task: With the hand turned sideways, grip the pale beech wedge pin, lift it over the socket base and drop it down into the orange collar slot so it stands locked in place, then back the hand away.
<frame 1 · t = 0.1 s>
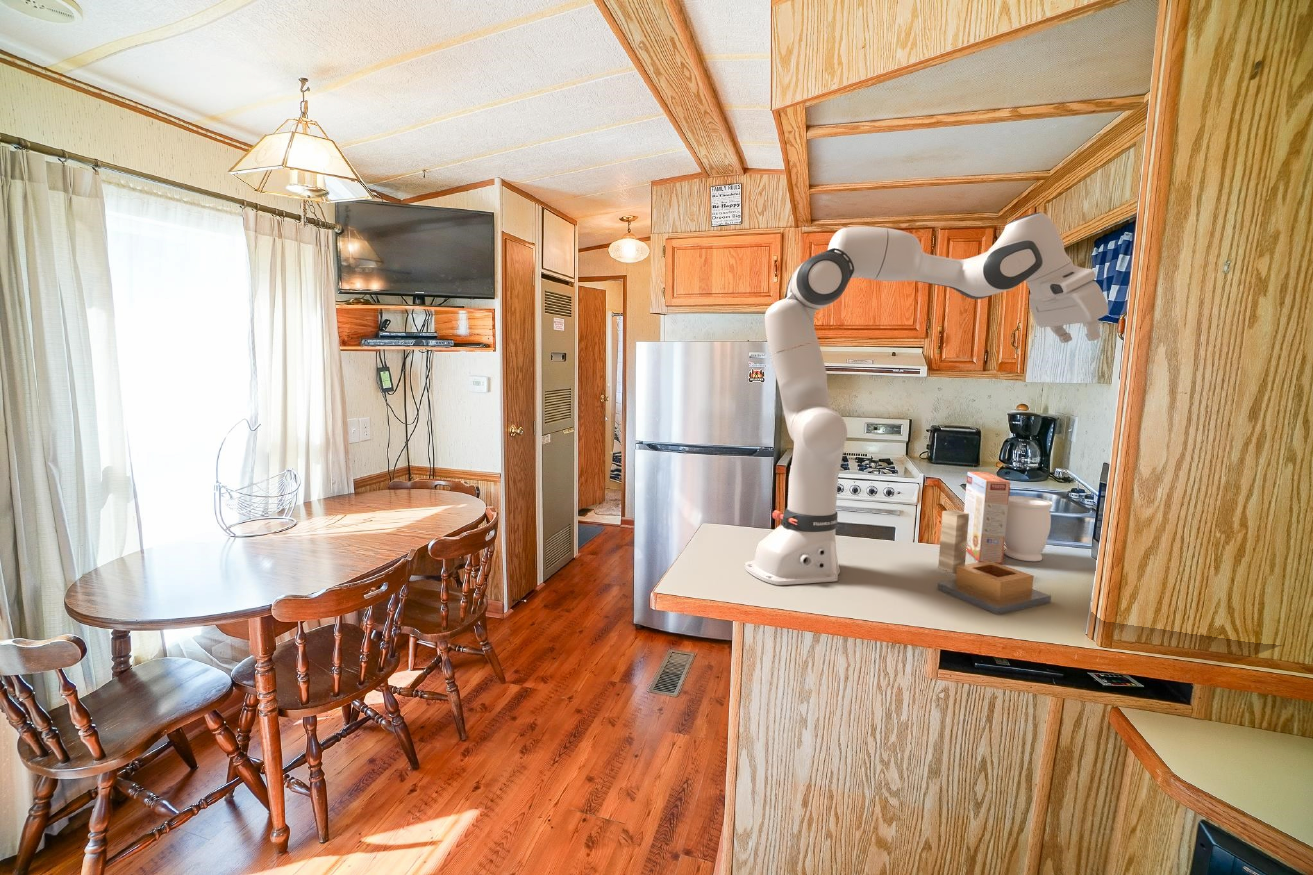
hand: (1080, 340, 126), 54 cm above the counter, tool tilted 30°, fingers open, 8 cm apart
wedge pin: (951, 569, 138), on the counter
cracker box: (981, 555, 149), on the counter
jar: (1022, 557, 148), on the counter
socket base: (992, 595, 122), on the counter
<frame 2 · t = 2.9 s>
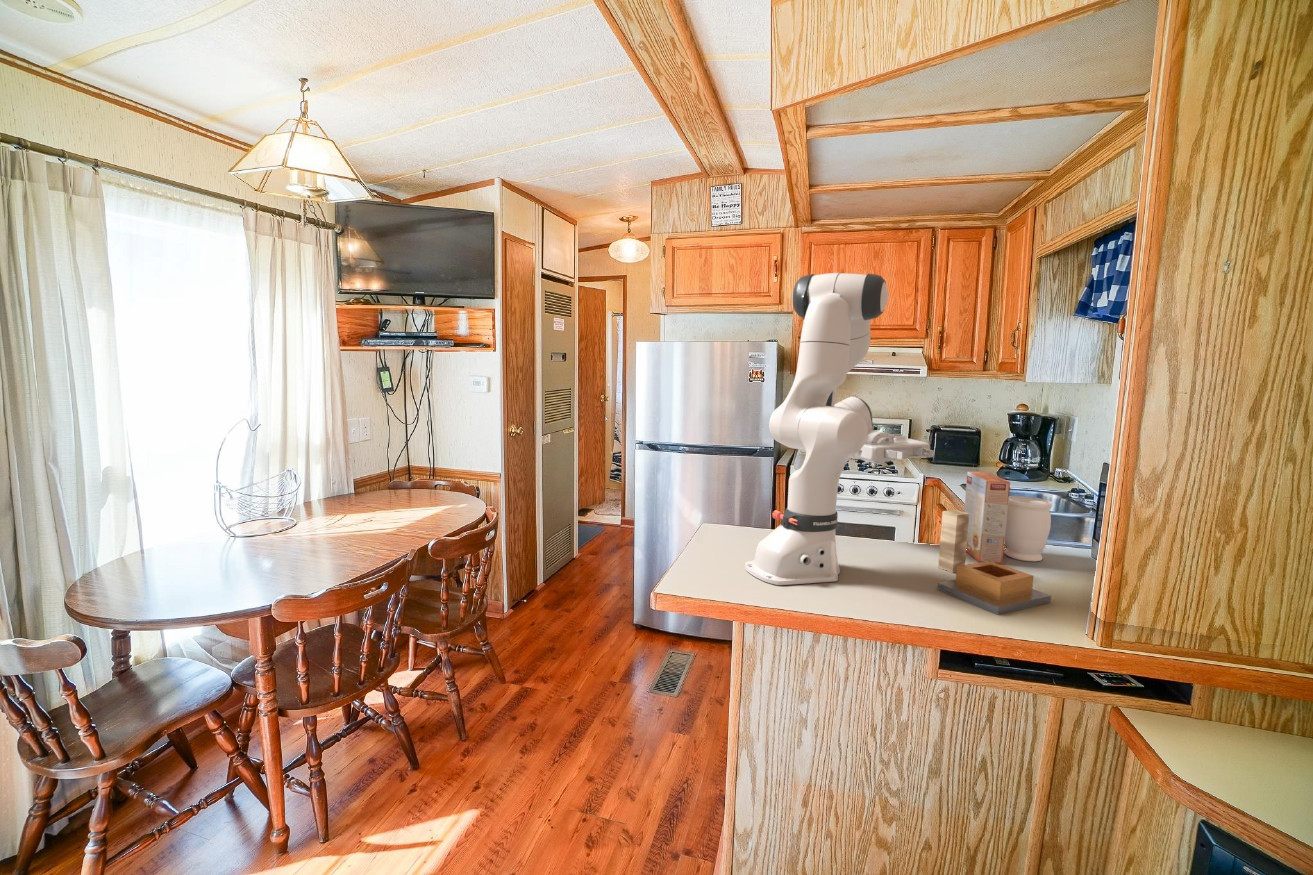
hand: (918, 454, 146), 26 cm above the counter, tool horizontal, fingers open, 8 cm apart
nothing on the counter moved.
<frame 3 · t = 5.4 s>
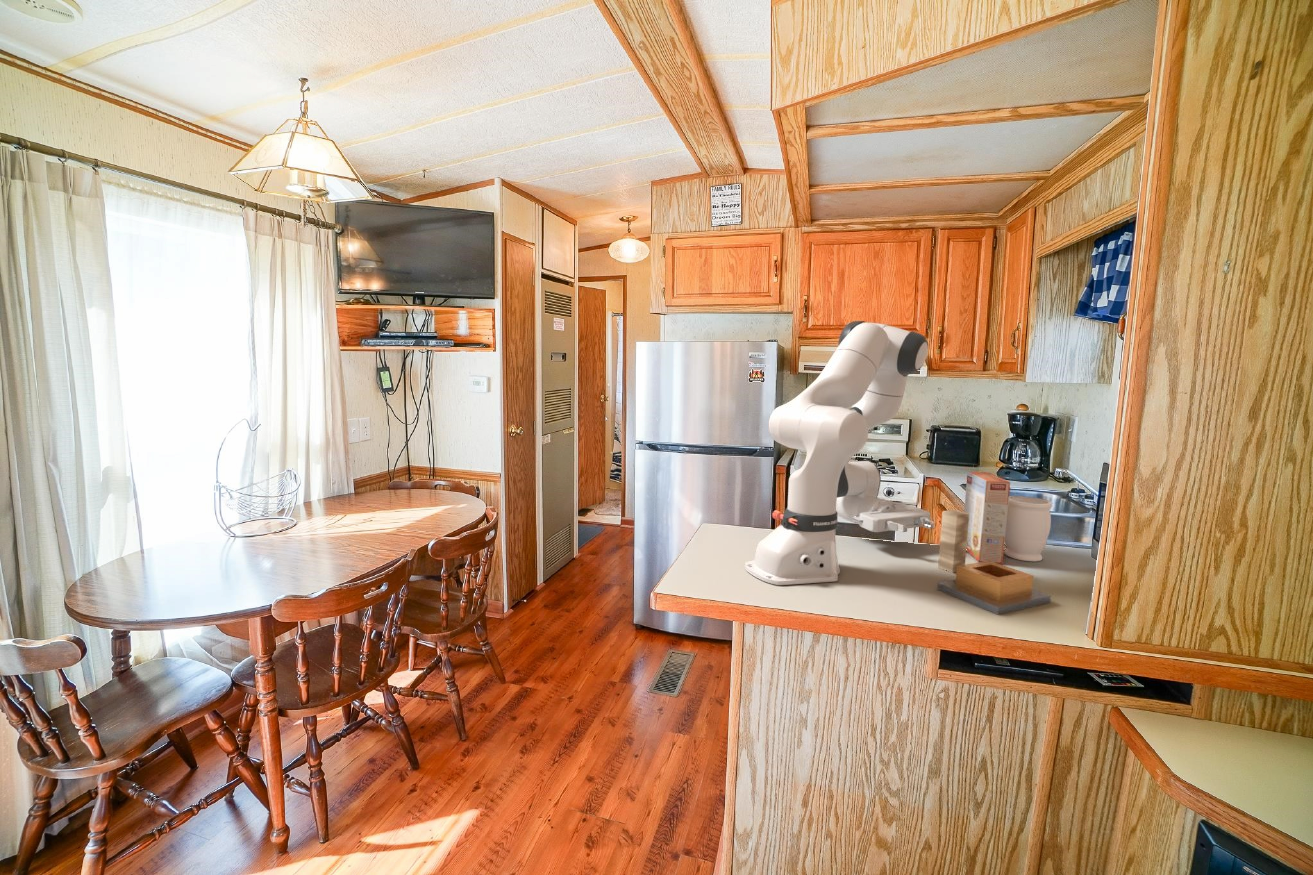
hand: (919, 527, 146), 8 cm above the counter, tool horizontal, fingers open, 8 cm apart
nothing on the counter moved.
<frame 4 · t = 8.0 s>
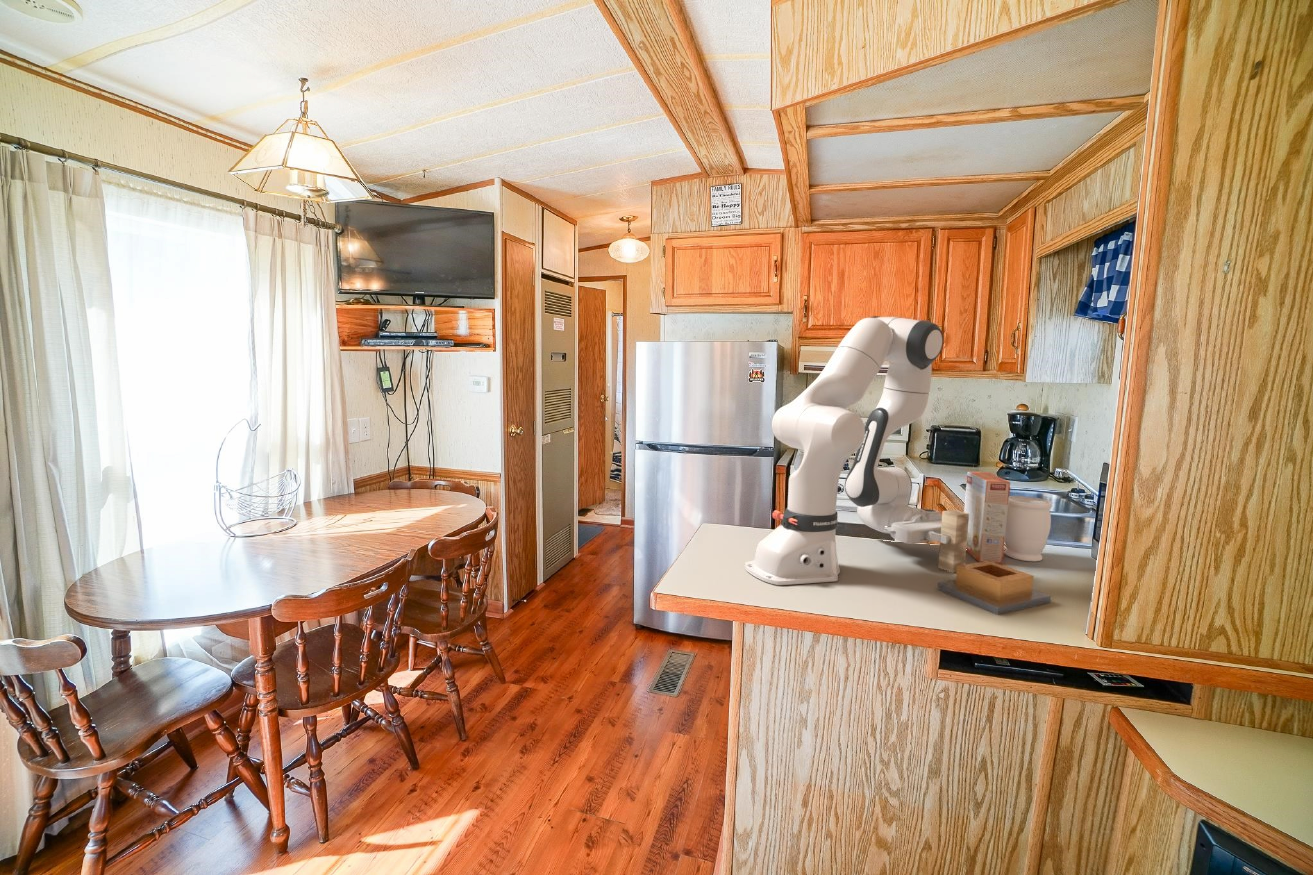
hand: (957, 539, 136), 8 cm above the counter, tool horizontal, fingers closed on wedge pin, 4 cm apart
wedge pin: (951, 569, 138), on the counter, touching gripper
everything else where it was.
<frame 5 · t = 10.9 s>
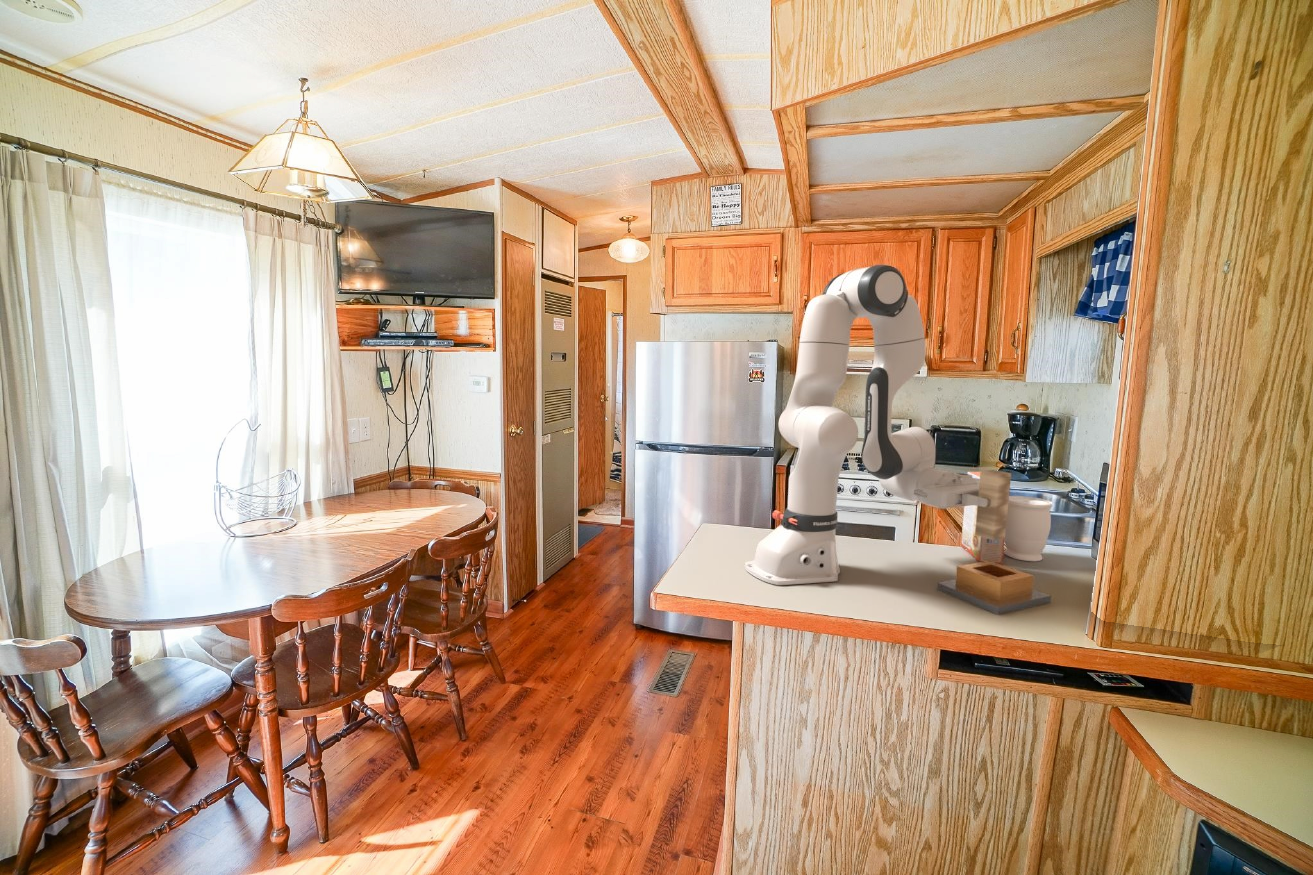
hand: (997, 502, 122), 20 cm above the counter, tool horizontal, fingers closed on wedge pin, 4 cm apart
wedge pin: (989, 536, 123), point 12 cm above the counter, touching gripper
everything else where it was.
when the fingers open (11 cm above the counter, at t = 13.8 s): wedge pin drops 1 cm, resting on socket base.
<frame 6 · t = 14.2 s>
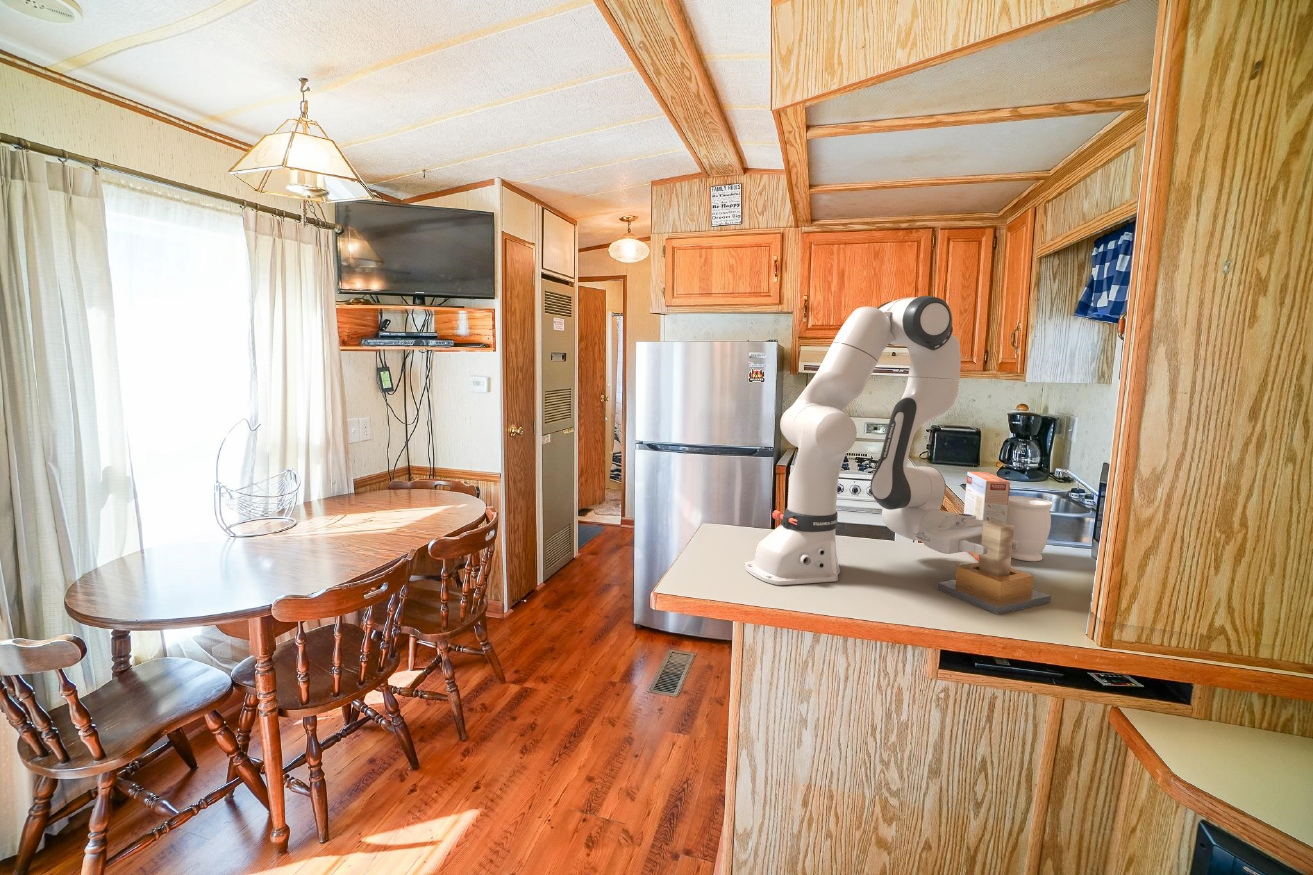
hand: (1000, 548, 120), 11 cm above the counter, tool horizontal, fingers open, 8 cm apart
wedge pin: (992, 589, 122), point 1 cm above the counter, touching socket base
everything else where it was.
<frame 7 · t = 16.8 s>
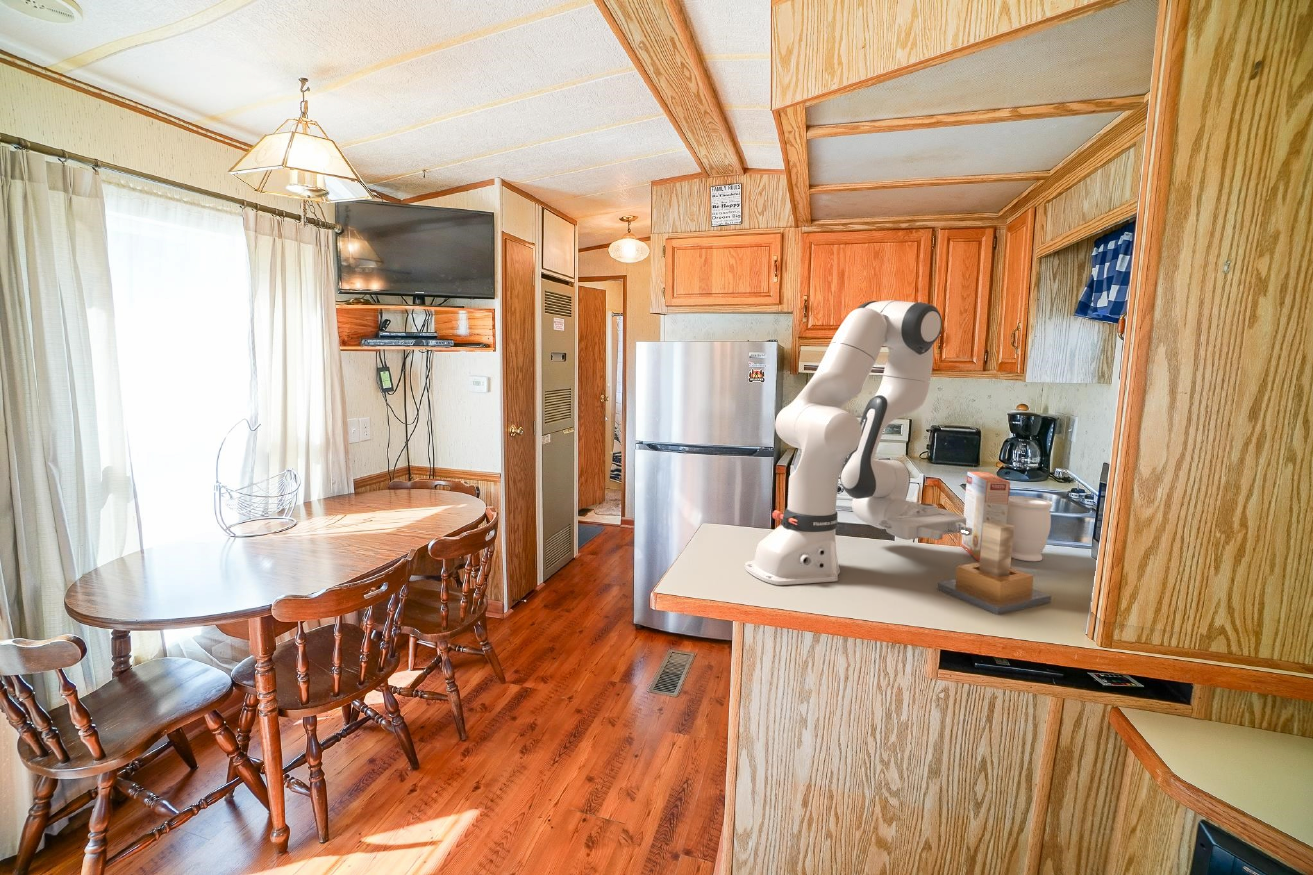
hand: (955, 534, 130), 11 cm above the counter, tool horizontal, fingers open, 8 cm apart
nothing on the counter moved.
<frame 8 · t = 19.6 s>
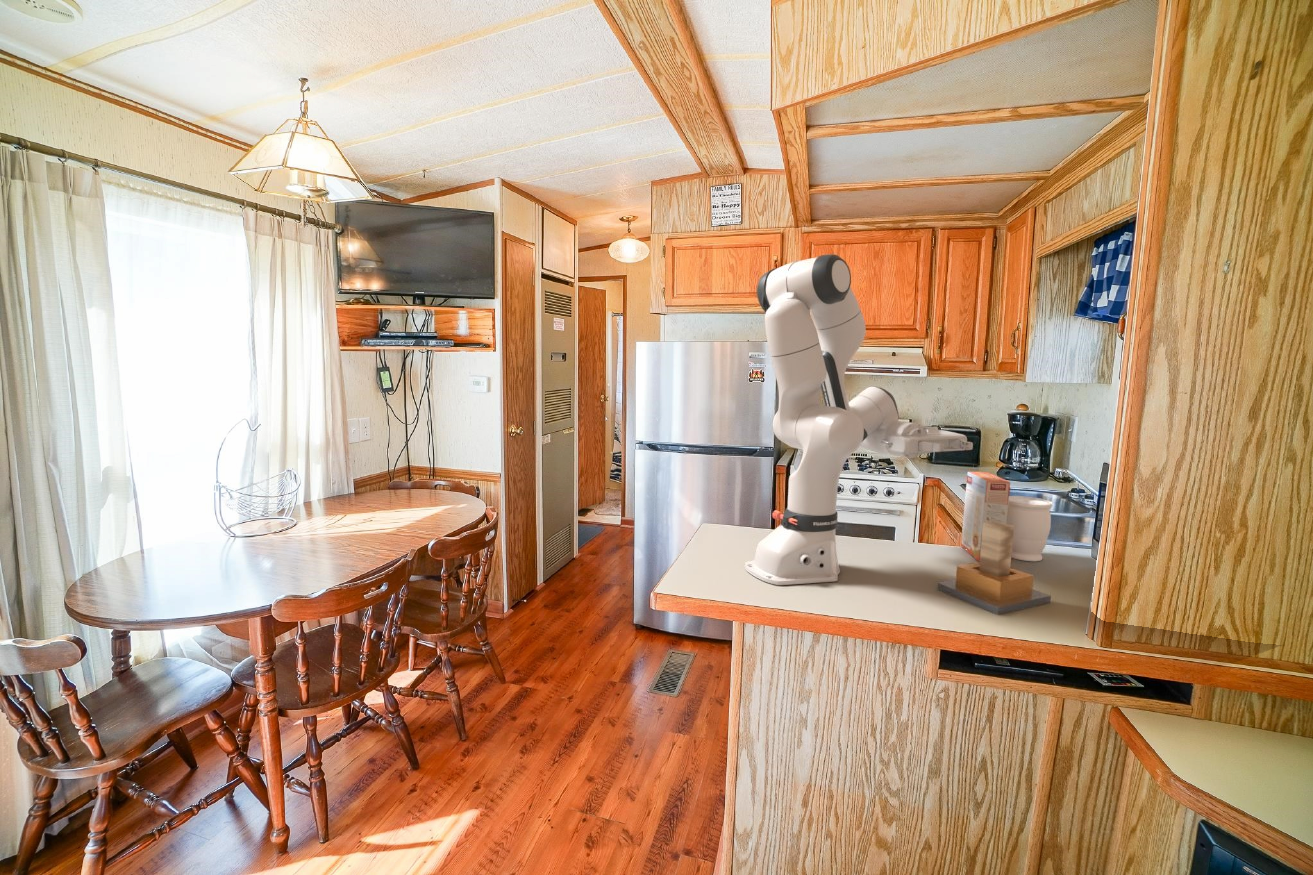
hand: (956, 447, 131), 30 cm above the counter, tool horizontal, fingers open, 8 cm apart
nothing on the counter moved.
at the end: wedge pin 0.1 cm off-centre on the socket base, point 1.5 cm above the socket base's base; wedge pin tilted 0°; the gripper is holding nothing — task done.
